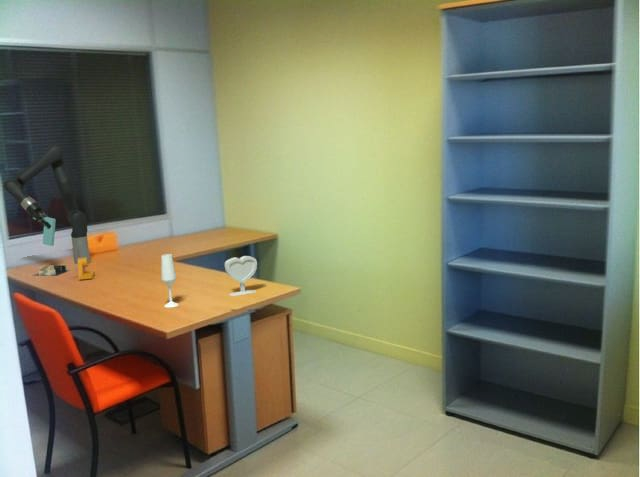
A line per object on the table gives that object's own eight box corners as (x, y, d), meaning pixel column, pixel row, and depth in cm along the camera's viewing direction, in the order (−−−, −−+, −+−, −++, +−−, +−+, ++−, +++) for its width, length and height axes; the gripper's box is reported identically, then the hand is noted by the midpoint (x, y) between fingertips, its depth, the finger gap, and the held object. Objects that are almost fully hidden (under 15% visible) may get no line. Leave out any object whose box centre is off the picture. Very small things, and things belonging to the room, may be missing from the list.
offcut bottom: (39, 275, 356) (38, 271, 356) (43, 273, 360) (43, 269, 359) (51, 275, 354) (50, 271, 354) (55, 273, 358) (55, 269, 357)
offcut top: (39, 271, 355) (39, 266, 355) (43, 269, 359) (42, 265, 358) (50, 271, 354) (50, 266, 354) (54, 269, 358) (53, 265, 357)
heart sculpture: (229, 296, 298) (226, 260, 294) (226, 294, 302) (223, 258, 299) (259, 291, 304) (257, 256, 301) (255, 289, 309) (253, 254, 305)
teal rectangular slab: (42, 243, 362) (44, 217, 358) (44, 242, 364) (46, 216, 360) (51, 246, 361) (53, 219, 357) (53, 245, 363) (55, 219, 359)
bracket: (92, 279, 344) (90, 258, 342) (79, 281, 343) (76, 260, 341) (95, 275, 355) (92, 255, 353) (82, 276, 353) (79, 256, 351)
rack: (32, 277, 356) (31, 270, 355) (47, 271, 369) (46, 265, 368) (56, 278, 352) (55, 271, 351) (70, 272, 365) (70, 265, 364)
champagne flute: (161, 307, 286) (156, 256, 281) (169, 302, 292) (164, 253, 287) (173, 307, 283) (168, 257, 279) (181, 303, 289) (177, 253, 285)
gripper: (26, 203, 352) (47, 224, 352) (42, 200, 365) (62, 220, 365) (19, 212, 355) (40, 233, 354) (35, 209, 368) (56, 229, 367)
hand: (51, 226), depth 359 cm, fingers closed on teal rectangular slab, 1 cm apart
